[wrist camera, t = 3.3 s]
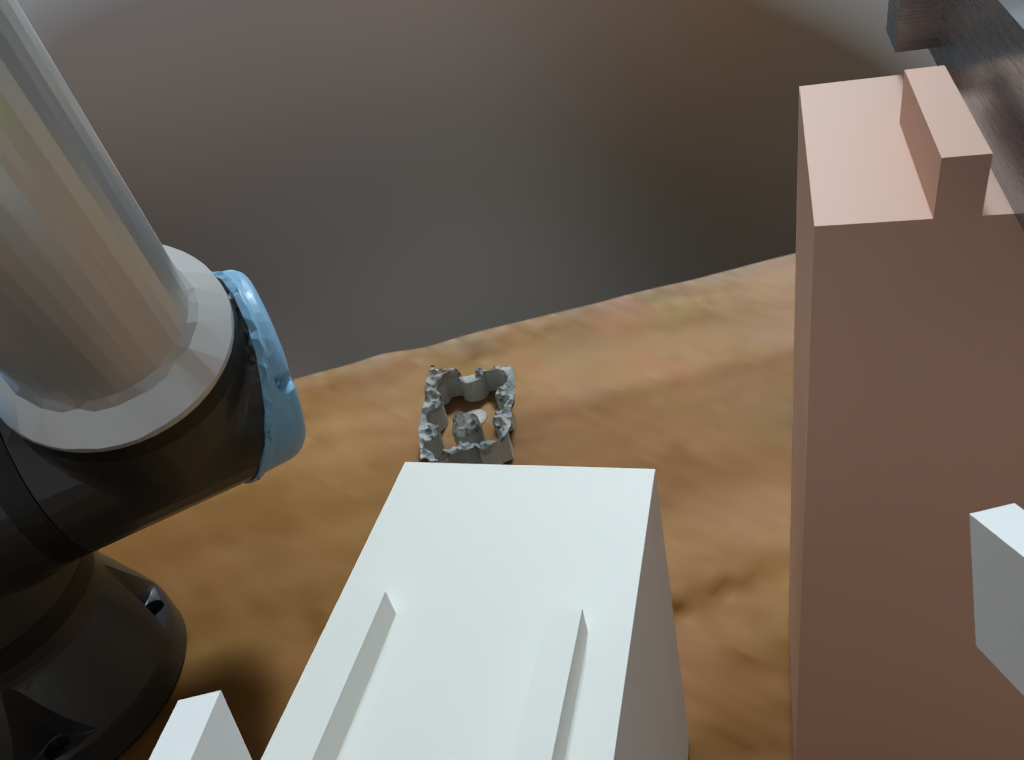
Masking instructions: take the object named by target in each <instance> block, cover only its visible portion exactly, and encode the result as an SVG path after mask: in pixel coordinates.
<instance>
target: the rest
mask: <svg viewBox="0 0 1024 760" xmlns="http://www.w3.org/2000/svg"><path fill="white" fill-rule="evenodd" d="M688 751H689V735H688V727H687V720H686V712H685V704H684V696H683V688H682V680H681V672H680V664H679V656H678V648H677V640H676V632H675V624H674V616H673V608H672V600H671V592H670V584H669V576H668V568H667V560H666V552H665V544H664V536H663V528H662V520H661V512H660V504H659V496H658V488H657V480H656V472H655V469H635V468H600V467H565V466H530V465H495V464H460V463H425V462H405V464H404V466H403V468H402V470H401V472H400V474H399V476H398V478H397V480H396V482H395V484H394V486H393V488H392V490H391V493H390V495H389V497H388V499H387V501H386V503H385V505H384V507H383V509H382V511H381V513H380V515H379V517H378V519H377V521H376V523H375V525H374V528H373V530H372V532H371V534H370V536H369V538H368V540H367V542H366V544H365V546H364V548H363V550H362V552H361V554H360V556H359V558H358V560H357V563H356V565H355V567H354V569H353V571H352V573H351V575H350V577H349V579H348V581H347V583H346V585H345V587H344V589H343V591H342V593H341V595H340V598H339V600H338V602H337V604H336V606H335V608H334V610H333V612H332V614H331V616H330V618H329V620H328V622H327V624H326V626H325V628H324V630H323V633H322V635H321V637H320V639H319V641H318V643H317V645H316V647H315V649H314V651H313V653H312V655H311V657H310V659H309V661H308V663H307V665H306V668H305V670H304V672H303V674H302V676H301V678H300V680H299V682H298V684H297V686H296V688H295V690H294V692H293V694H292V696H291V698H290V700H289V703H288V705H287V707H286V709H285V711H284V713H283V715H282V717H281V719H280V721H279V723H278V725H277V727H276V729H275V731H274V733H273V735H272V738H271V740H270V742H269V744H268V746H267V748H266V750H265V752H264V754H263V756H262V758H261V760H688Z"/></svg>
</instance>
